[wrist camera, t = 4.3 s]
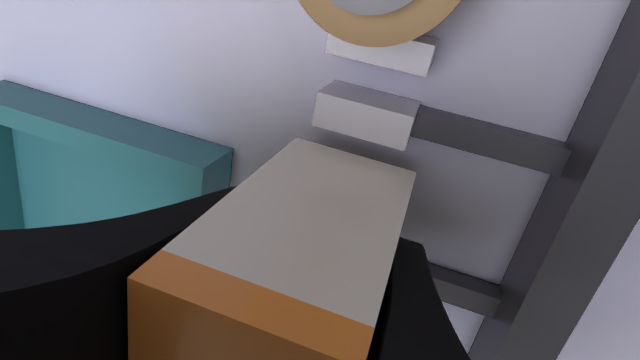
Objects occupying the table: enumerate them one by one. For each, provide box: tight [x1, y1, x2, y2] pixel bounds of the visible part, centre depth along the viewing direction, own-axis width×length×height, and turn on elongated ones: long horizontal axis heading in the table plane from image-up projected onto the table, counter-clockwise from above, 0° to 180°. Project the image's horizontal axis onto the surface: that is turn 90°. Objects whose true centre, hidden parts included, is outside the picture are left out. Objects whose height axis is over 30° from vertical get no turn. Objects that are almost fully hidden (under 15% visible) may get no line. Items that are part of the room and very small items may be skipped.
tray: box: [0, 80, 233, 230], centre depth 19 cm, size 11×13×2 cm
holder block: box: [311, 0, 640, 360], centre depth 13 cm, size 9×19×2 cm, turn 169°
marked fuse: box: [127, 137, 417, 360], centre depth 10 cm, size 4×4×7 cm
